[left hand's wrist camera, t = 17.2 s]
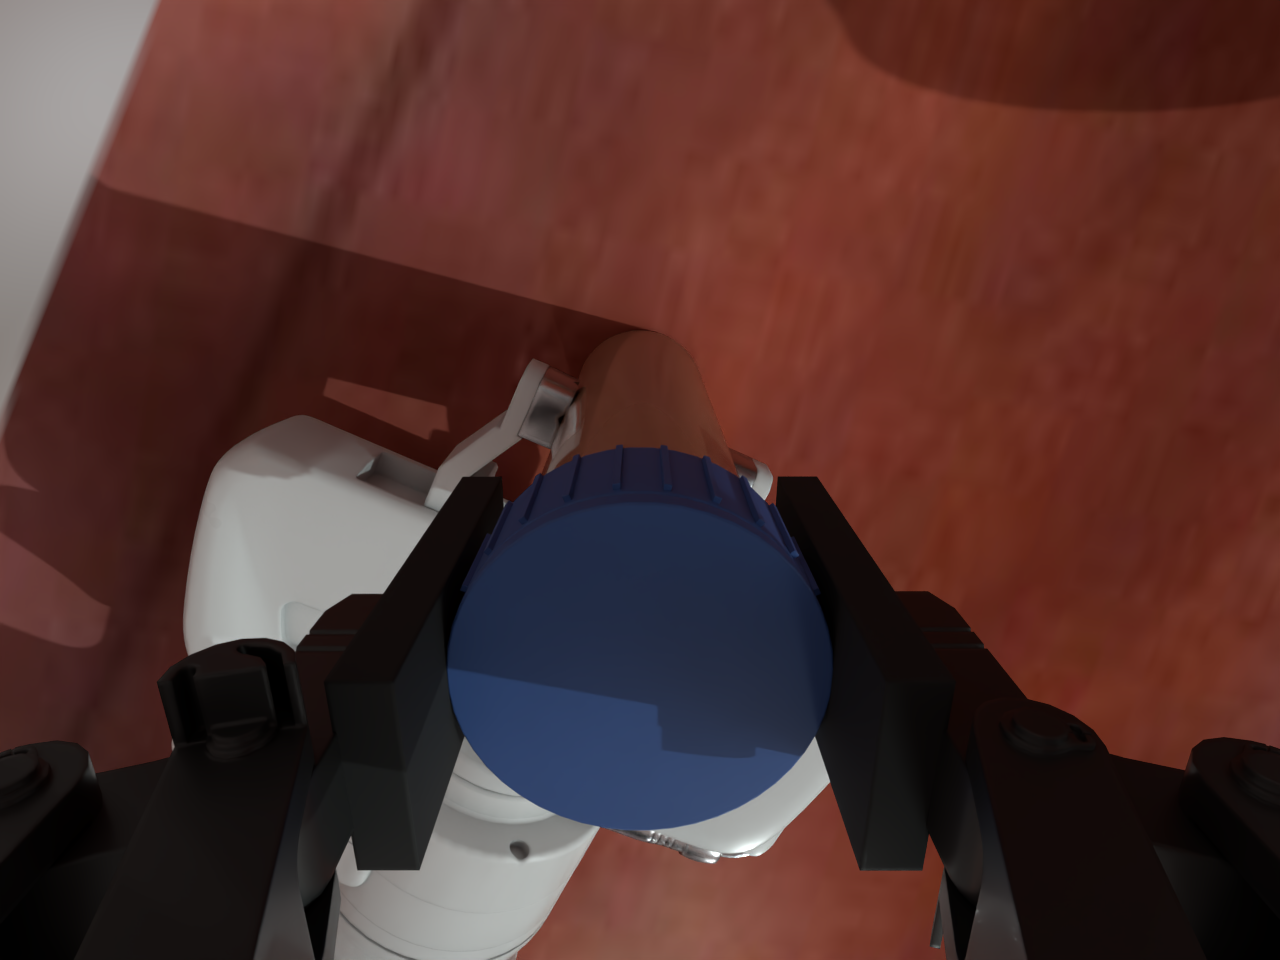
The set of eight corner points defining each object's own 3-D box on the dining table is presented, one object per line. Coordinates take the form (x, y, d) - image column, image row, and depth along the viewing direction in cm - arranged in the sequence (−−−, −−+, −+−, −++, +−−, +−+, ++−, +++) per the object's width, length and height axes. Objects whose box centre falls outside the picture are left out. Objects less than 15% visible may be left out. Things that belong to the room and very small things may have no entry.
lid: (827, 453, 11) (874, 512, 9) (778, 739, 13) (806, 846, 11) (476, 428, 11) (435, 481, 9) (477, 721, 13) (444, 825, 11)
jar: (705, 447, 27) (796, 767, 11) (584, 457, 27) (509, 787, 11) (698, 324, 25) (793, 497, 10) (570, 335, 26) (459, 524, 10)
